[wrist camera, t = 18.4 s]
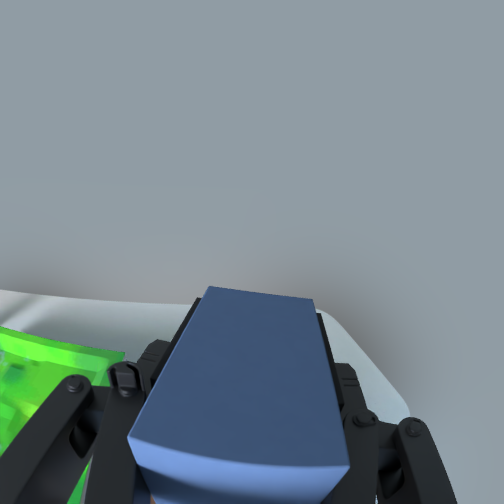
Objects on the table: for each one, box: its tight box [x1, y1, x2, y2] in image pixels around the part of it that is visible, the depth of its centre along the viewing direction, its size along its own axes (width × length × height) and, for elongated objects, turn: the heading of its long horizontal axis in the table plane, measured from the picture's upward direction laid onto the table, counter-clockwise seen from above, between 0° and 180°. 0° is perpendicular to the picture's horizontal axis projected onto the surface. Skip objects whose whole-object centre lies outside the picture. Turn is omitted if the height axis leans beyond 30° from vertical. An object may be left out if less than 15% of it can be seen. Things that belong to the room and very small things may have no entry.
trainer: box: [127, 286, 350, 504], centre depth 12 cm, size 5×14×9 cm, turn 176°
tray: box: [0, 326, 127, 504], centre depth 17 cm, size 25×25×5 cm
